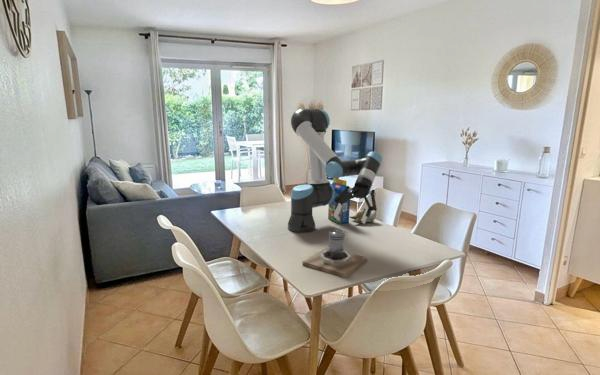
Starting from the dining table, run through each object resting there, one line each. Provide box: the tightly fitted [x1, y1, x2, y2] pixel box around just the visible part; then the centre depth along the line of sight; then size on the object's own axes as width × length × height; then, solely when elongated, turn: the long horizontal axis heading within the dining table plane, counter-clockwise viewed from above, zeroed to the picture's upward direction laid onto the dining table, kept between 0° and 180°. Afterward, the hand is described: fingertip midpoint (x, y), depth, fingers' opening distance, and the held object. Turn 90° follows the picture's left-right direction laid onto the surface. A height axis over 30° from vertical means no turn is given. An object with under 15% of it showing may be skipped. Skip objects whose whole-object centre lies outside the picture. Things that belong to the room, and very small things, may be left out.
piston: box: [328, 229, 345, 260], centre depth 149 cm, size 6×6×12 cm
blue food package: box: [327, 178, 351, 225], centre depth 207 cm, size 6×12×25 cm, turn 33°
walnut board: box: [302, 247, 368, 278], centre depth 151 cm, size 20×20×2 cm
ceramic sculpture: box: [349, 208, 377, 224], centre depth 207 cm, size 11×9×15 cm
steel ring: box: [320, 250, 351, 266], centre depth 150 cm, size 12×12×2 cm
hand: (348, 219), depth 157 cm, fingers open, 13 cm apart
